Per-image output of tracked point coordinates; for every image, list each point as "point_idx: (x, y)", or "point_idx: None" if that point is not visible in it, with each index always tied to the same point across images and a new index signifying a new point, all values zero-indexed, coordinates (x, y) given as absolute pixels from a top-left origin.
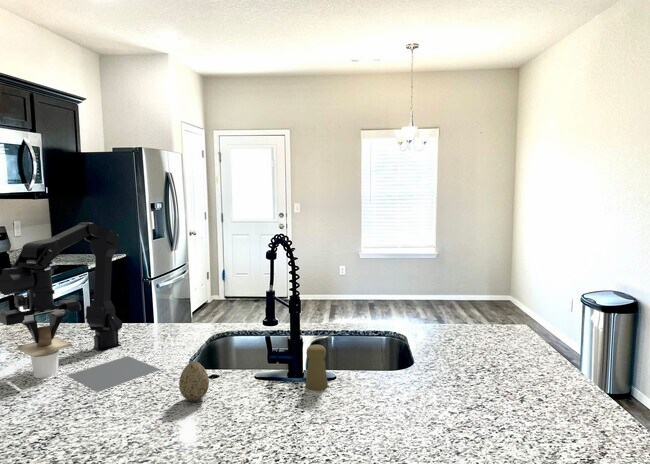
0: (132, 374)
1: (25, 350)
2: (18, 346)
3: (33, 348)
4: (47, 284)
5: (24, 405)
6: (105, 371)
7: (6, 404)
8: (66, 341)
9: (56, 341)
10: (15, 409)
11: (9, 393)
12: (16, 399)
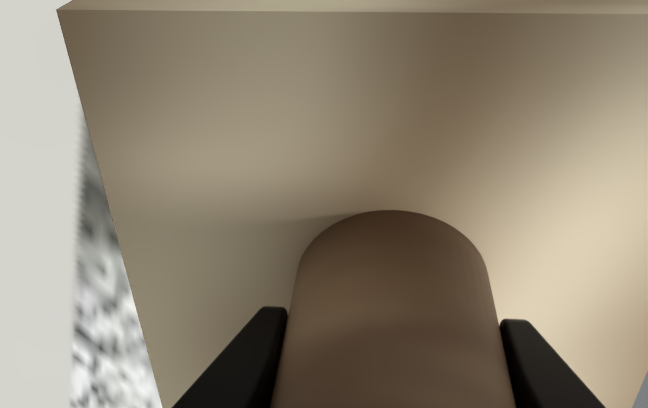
0: None
1: (136, 300)
2: (68, 35)
3: (232, 306)
4: None
5: (150, 391)
6: (644, 389)
7: (77, 323)
8: (641, 380)
9: (577, 281)
10: (110, 396)
11: (101, 200)
12: (127, 308)
